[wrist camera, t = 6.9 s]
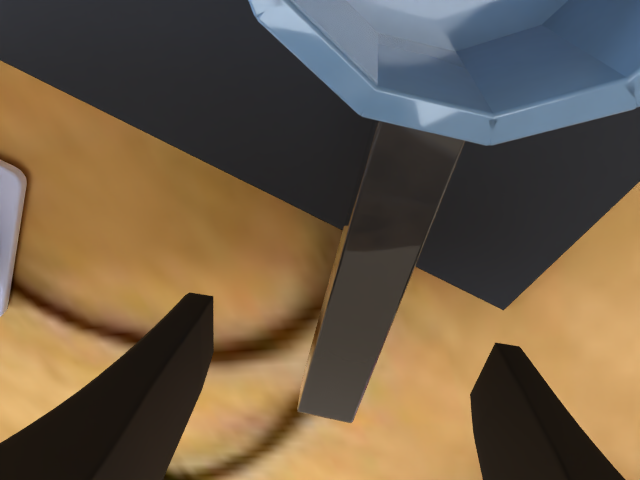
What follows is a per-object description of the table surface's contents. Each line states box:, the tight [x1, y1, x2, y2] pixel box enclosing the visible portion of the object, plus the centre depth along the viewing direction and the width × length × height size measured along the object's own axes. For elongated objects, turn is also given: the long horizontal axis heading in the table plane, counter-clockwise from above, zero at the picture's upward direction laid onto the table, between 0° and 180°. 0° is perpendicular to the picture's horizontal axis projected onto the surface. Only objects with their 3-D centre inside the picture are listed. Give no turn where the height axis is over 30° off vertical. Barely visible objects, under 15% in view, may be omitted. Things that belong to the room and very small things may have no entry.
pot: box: [248, 0, 640, 423], centre depth 11 cm, size 18×9×6 cm, turn 169°
